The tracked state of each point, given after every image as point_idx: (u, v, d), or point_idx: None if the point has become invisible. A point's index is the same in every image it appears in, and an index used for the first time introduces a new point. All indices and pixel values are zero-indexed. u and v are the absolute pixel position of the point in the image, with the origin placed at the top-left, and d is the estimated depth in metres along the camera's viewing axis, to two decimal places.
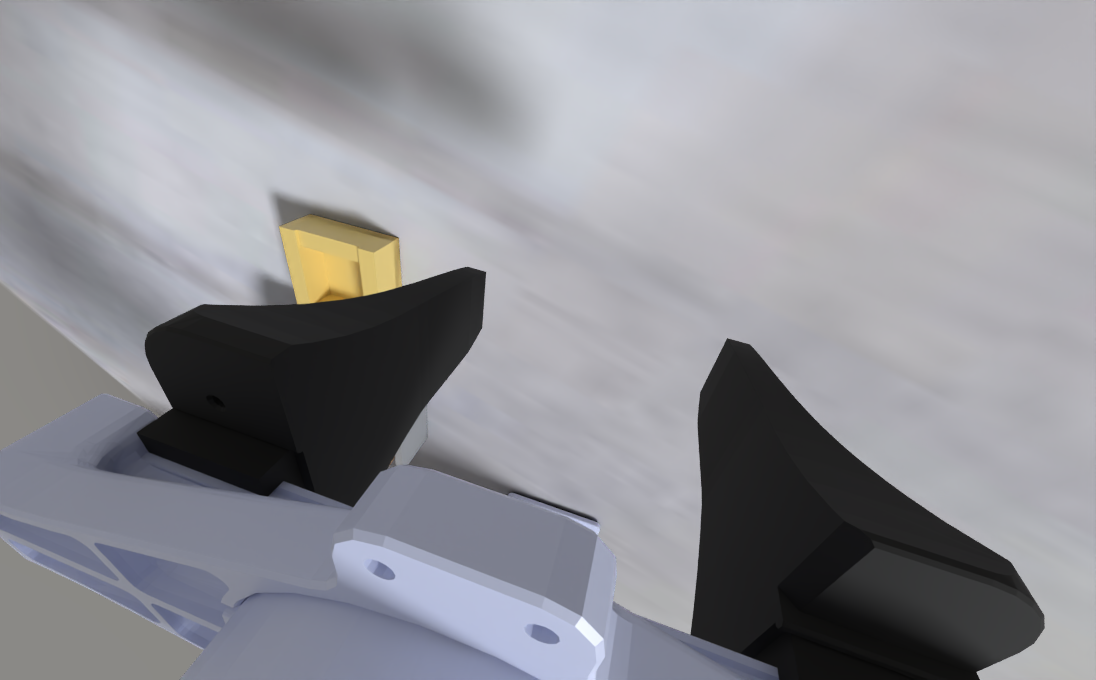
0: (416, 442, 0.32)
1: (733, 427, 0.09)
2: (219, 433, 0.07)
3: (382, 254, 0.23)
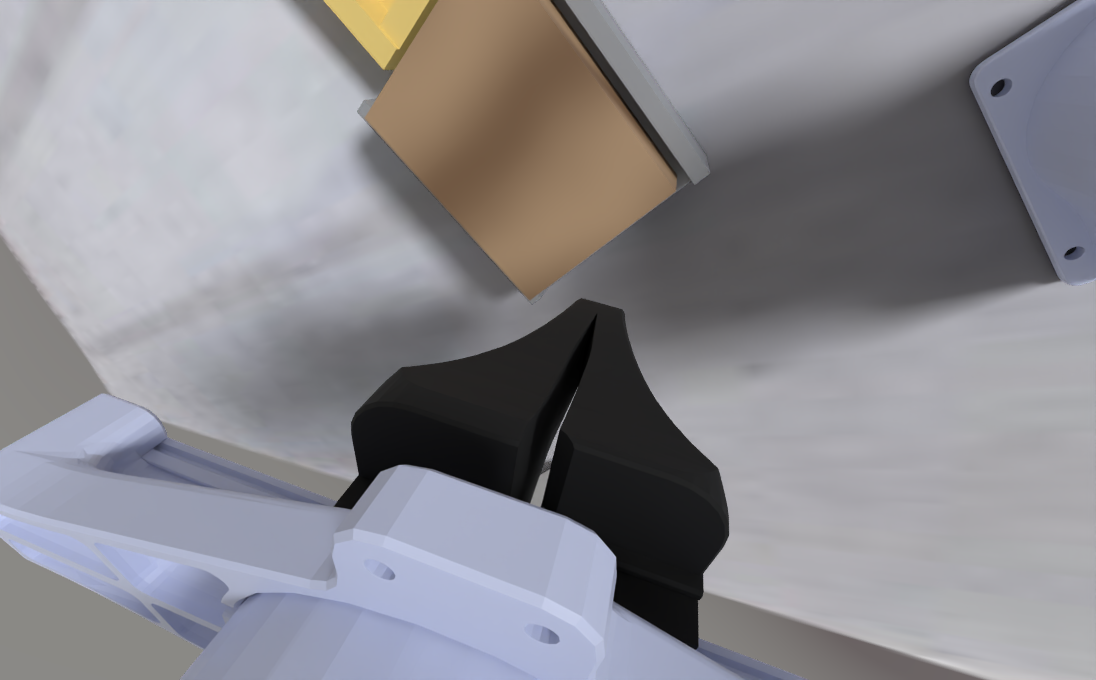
0: (690, 137, 0.16)
1: None
2: None
3: None
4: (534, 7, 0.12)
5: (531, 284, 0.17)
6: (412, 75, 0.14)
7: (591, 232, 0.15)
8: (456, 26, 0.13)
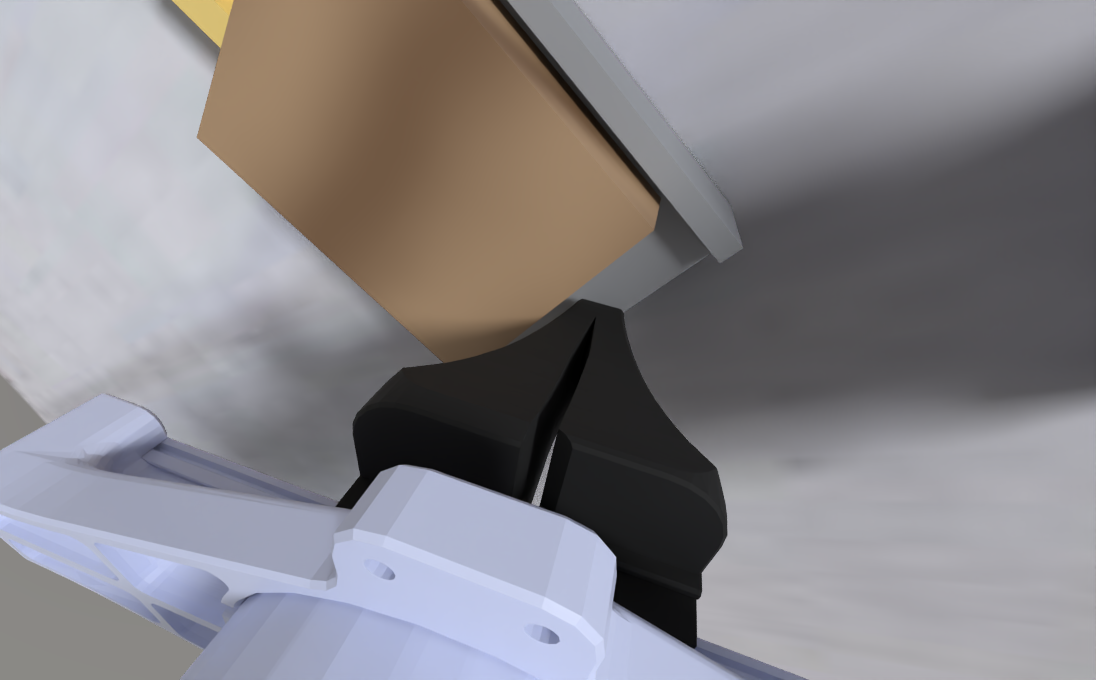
0: (709, 188, 0.11)
1: None
2: None
3: None
4: None
5: (461, 359, 0.12)
6: (242, 69, 0.09)
7: (532, 291, 0.10)
8: None
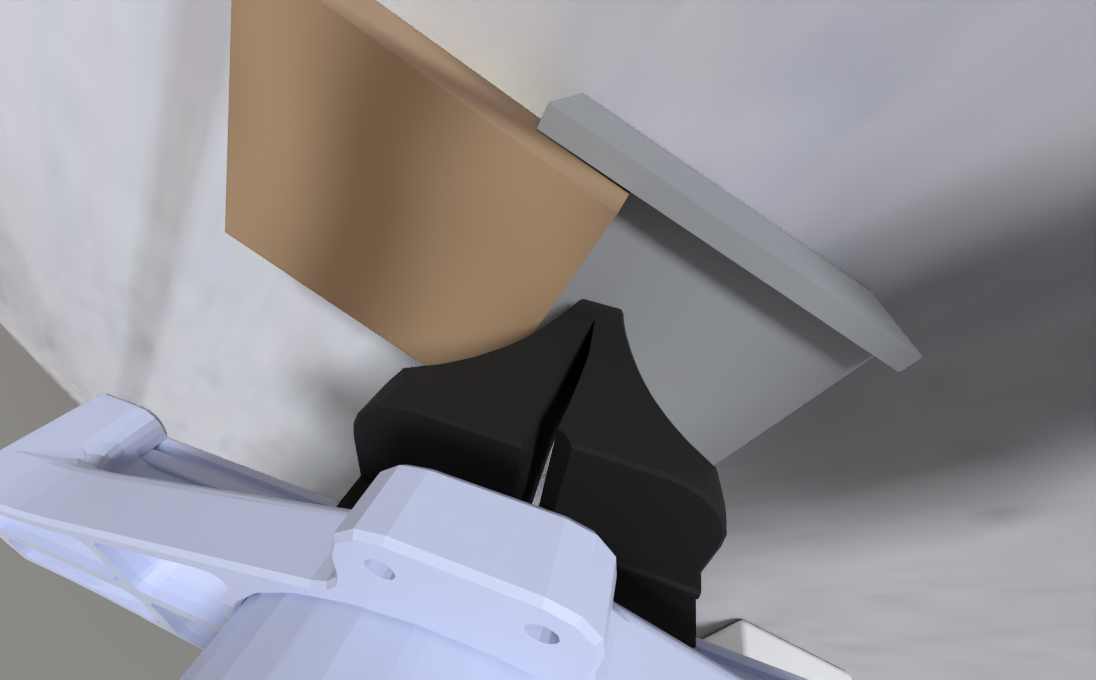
0: (857, 293, 0.11)
1: None
2: None
3: None
4: (332, 20, 0.08)
5: None
6: (246, 165, 0.11)
7: (522, 301, 0.10)
8: (261, 84, 0.09)
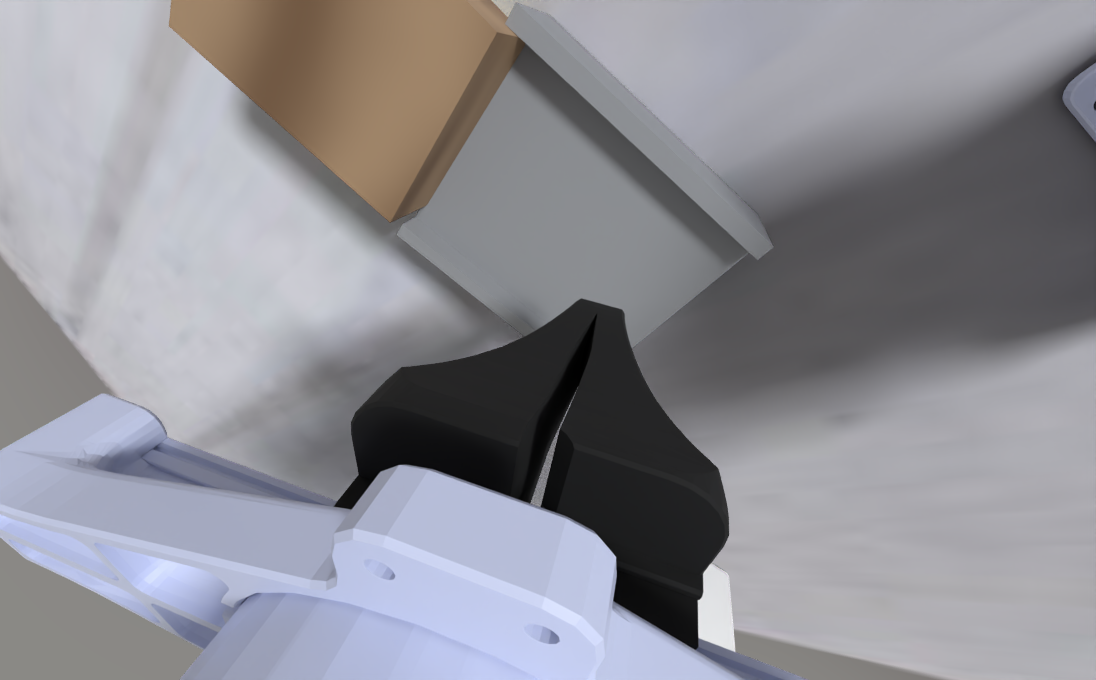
0: (741, 205, 0.15)
1: None
2: None
3: None
4: None
5: (385, 200, 0.14)
6: None
7: (424, 115, 0.12)
8: None
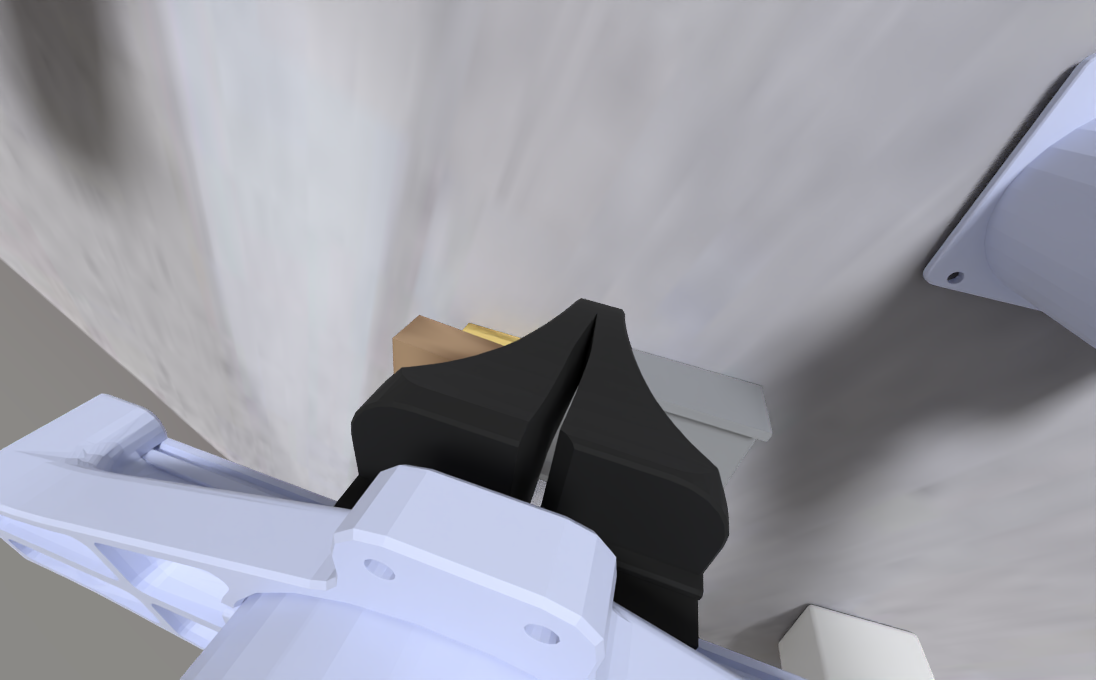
0: (742, 399, 0.21)
1: None
2: None
3: None
4: (431, 355, 0.21)
5: None
6: None
7: None
8: None
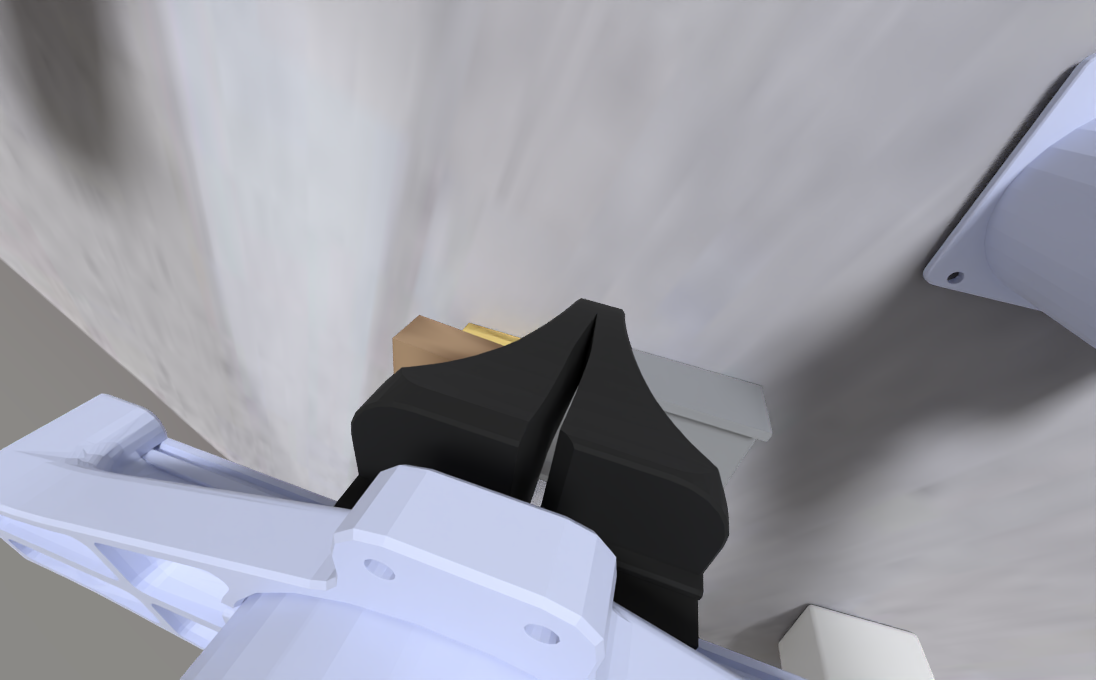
0: (742, 399, 0.21)
1: None
2: None
3: None
4: (431, 355, 0.21)
5: None
6: None
7: None
8: None
